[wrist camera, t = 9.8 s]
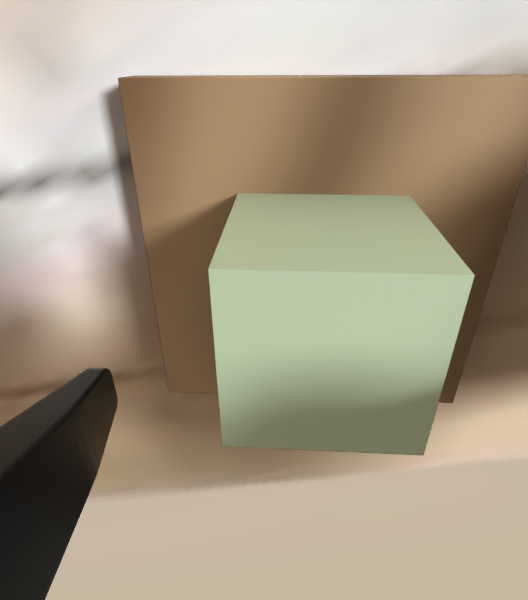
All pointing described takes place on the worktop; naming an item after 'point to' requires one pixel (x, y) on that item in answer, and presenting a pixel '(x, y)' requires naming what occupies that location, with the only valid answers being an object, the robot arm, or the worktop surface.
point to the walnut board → (315, 174)
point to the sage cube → (333, 322)
